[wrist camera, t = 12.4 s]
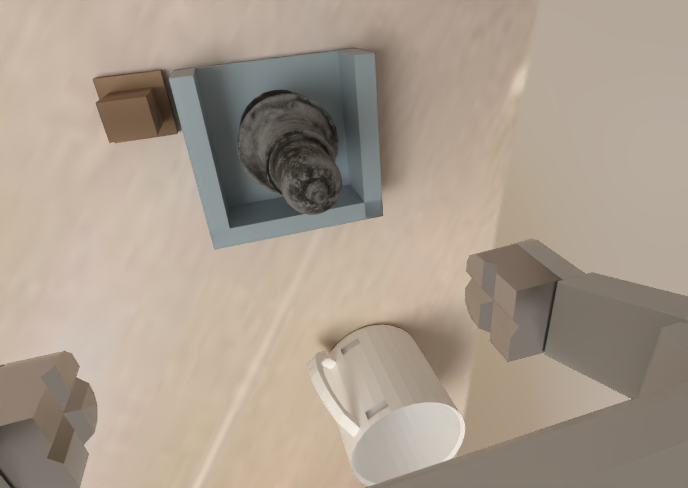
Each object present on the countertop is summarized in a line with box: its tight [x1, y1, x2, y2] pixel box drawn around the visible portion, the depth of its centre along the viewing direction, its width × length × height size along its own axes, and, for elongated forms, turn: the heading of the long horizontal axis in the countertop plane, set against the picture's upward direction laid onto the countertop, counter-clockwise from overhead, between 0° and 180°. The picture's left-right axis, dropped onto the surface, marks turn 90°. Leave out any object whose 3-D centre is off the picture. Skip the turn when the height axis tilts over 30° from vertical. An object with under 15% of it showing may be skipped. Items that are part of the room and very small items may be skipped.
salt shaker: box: [237, 90, 342, 215], centre depth 23 cm, size 6×6×12 cm
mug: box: [307, 324, 465, 486], centre depth 36 cm, size 12×9×9 cm
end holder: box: [169, 48, 383, 250], centre depth 27 cm, size 10×11×4 cm
